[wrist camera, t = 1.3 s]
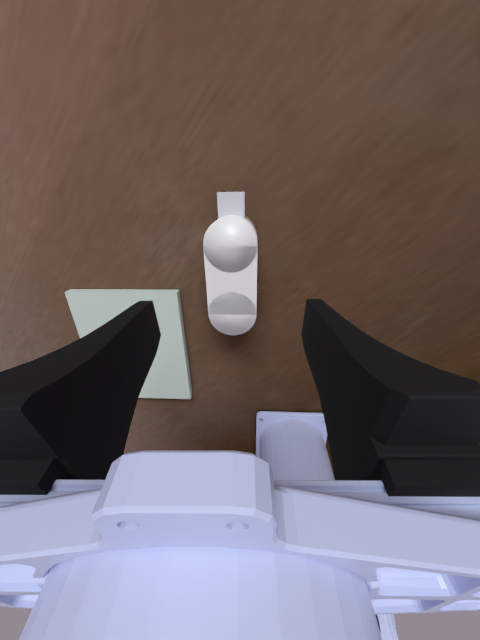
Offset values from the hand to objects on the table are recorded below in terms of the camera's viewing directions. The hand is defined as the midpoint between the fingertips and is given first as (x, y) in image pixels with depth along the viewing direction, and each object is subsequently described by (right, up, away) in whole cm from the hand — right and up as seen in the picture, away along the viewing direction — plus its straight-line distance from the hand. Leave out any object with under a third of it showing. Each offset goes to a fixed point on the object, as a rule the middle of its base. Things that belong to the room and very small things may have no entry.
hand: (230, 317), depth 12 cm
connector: (0, +4, +9) cm, 10 cm away
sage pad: (-10, -3, +14) cm, 17 cm away
